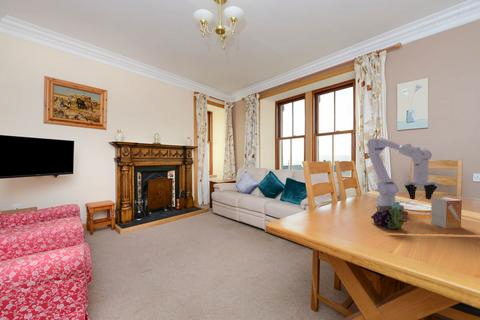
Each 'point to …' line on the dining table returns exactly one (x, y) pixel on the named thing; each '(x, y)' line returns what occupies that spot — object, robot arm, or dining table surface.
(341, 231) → the dining table surface
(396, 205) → the dowel
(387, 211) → the fruit
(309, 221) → the dining table surface
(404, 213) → the block
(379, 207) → the board
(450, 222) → the small box
